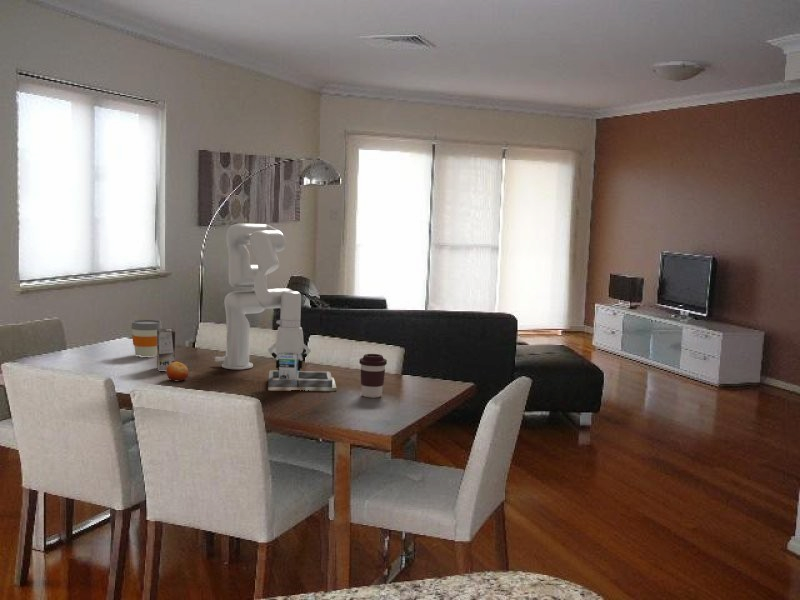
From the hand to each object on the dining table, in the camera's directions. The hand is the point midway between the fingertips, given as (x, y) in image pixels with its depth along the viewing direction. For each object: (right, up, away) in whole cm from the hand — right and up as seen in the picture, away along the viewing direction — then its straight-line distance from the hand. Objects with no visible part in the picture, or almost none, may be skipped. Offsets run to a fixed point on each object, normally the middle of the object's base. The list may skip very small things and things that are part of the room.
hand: (288, 369), depth 306 cm
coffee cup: (+32, -9, -11) cm, 35 cm away
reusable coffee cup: (-68, +2, +45) cm, 82 cm away
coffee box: (-52, -2, +19) cm, 56 cm away
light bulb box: (0, -4, +1) cm, 4 cm away
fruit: (-42, -4, 0) cm, 43 cm away
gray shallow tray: (+5, -6, +1) cm, 8 cm away
